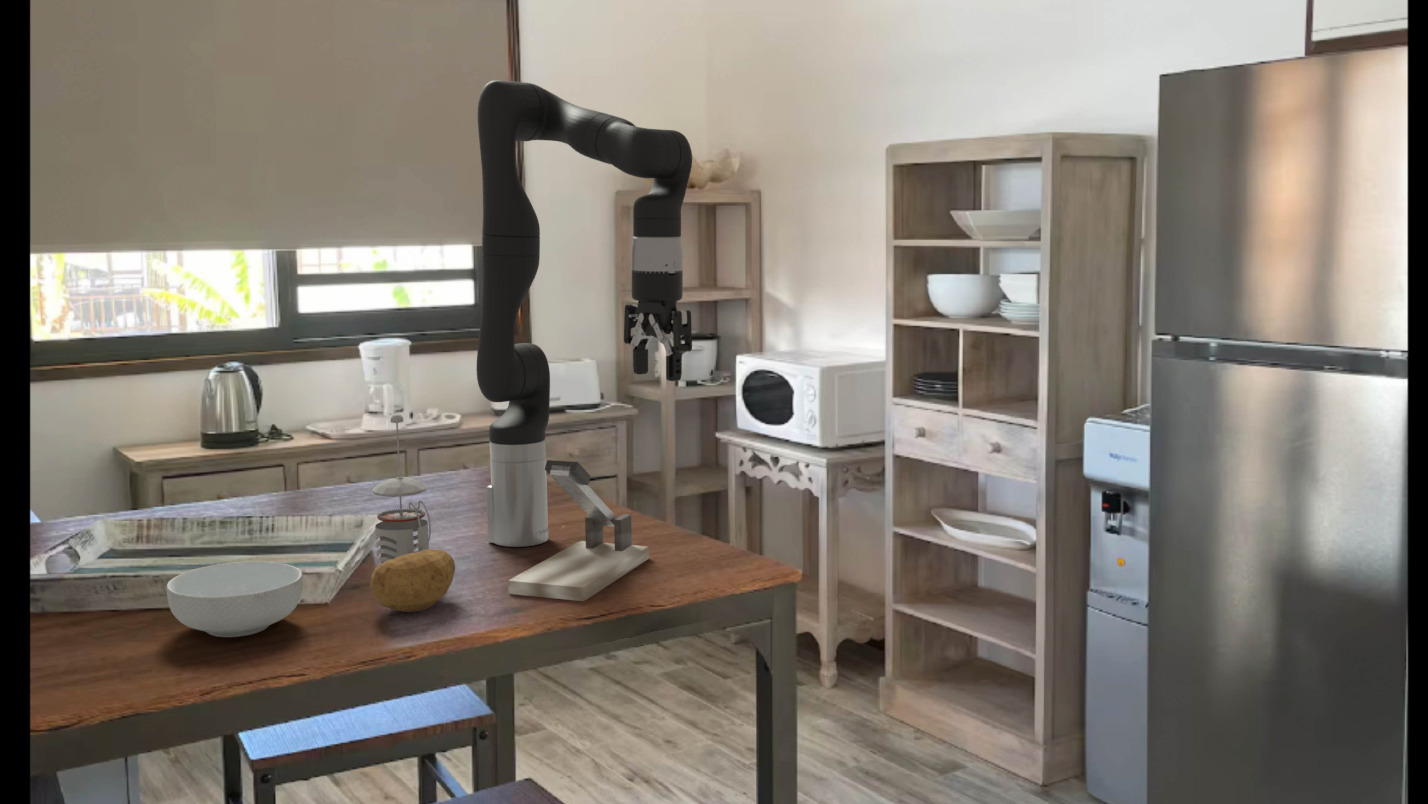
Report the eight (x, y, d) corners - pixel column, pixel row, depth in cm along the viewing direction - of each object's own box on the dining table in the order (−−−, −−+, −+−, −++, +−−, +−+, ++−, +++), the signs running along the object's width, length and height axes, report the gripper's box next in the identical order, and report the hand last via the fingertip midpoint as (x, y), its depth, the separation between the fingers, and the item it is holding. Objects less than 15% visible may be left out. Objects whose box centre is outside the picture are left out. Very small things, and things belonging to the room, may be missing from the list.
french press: (414, 564, 202) (407, 407, 199) (456, 578, 194) (449, 415, 191) (358, 576, 196) (350, 414, 192) (398, 591, 187) (390, 423, 184)
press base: (508, 593, 186) (507, 546, 185) (580, 552, 208) (579, 510, 207) (583, 601, 182) (582, 553, 181) (648, 558, 204) (648, 515, 203)
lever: (543, 474, 187) (547, 460, 188) (594, 526, 204) (597, 513, 205) (574, 476, 185) (578, 461, 186) (623, 529, 203) (626, 516, 204)
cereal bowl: (170, 656, 161) (166, 601, 160) (168, 619, 176) (165, 569, 175) (311, 637, 167) (308, 585, 166) (298, 603, 182) (295, 555, 181)
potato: (476, 599, 183) (474, 544, 182) (410, 627, 171) (408, 569, 170) (422, 590, 188) (420, 537, 187) (354, 617, 175) (352, 560, 174)
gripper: (609, 266, 192) (609, 373, 194) (664, 271, 180) (664, 385, 183) (650, 265, 196) (650, 370, 199) (706, 269, 185) (705, 380, 188)
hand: (657, 377), depth 191 cm, fingers open, 8 cm apart
